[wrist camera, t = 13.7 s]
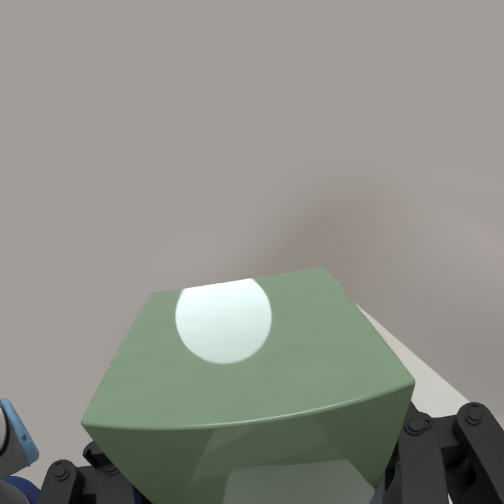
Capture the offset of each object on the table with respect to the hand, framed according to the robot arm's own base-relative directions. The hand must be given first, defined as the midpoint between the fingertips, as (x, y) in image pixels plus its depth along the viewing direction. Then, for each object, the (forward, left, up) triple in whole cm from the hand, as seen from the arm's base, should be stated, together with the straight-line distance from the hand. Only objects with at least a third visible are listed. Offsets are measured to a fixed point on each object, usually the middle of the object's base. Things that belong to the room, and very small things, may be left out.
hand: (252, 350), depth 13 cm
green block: (+2, -5, -8) cm, 9 cm away
